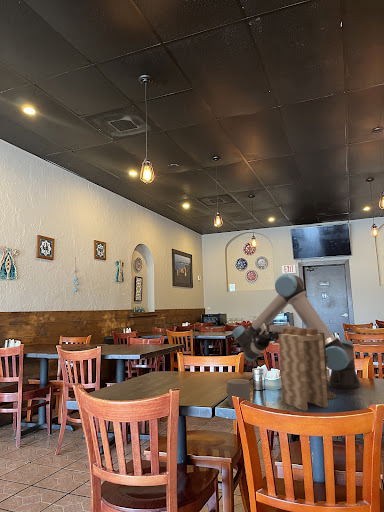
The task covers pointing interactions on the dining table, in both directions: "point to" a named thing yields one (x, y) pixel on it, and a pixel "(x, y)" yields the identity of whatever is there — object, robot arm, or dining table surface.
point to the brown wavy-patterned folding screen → (302, 368)
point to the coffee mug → (238, 389)
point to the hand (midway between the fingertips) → (276, 325)
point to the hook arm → (278, 328)
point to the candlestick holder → (329, 394)
